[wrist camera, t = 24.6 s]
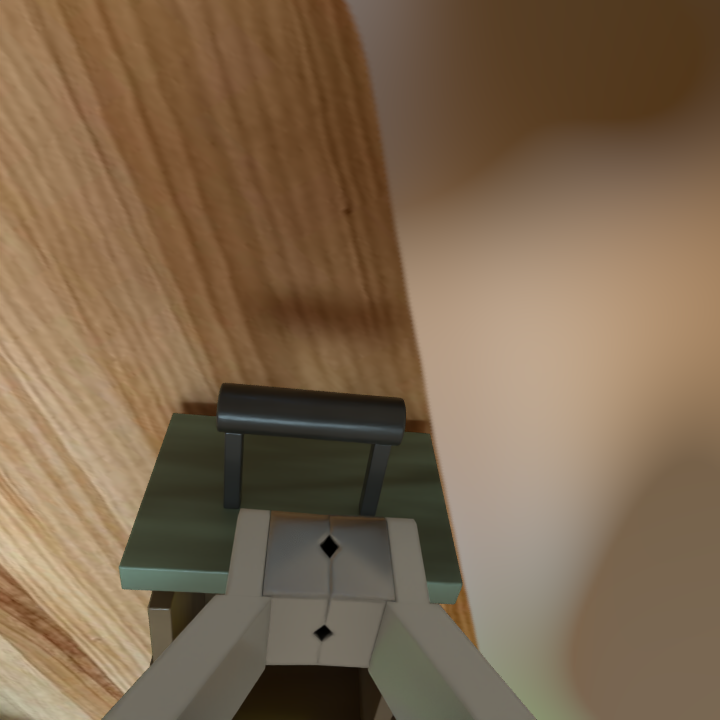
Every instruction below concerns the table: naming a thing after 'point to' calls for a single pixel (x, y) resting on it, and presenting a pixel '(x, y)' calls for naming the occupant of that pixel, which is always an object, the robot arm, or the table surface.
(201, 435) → the drawer
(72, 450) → the table surface
